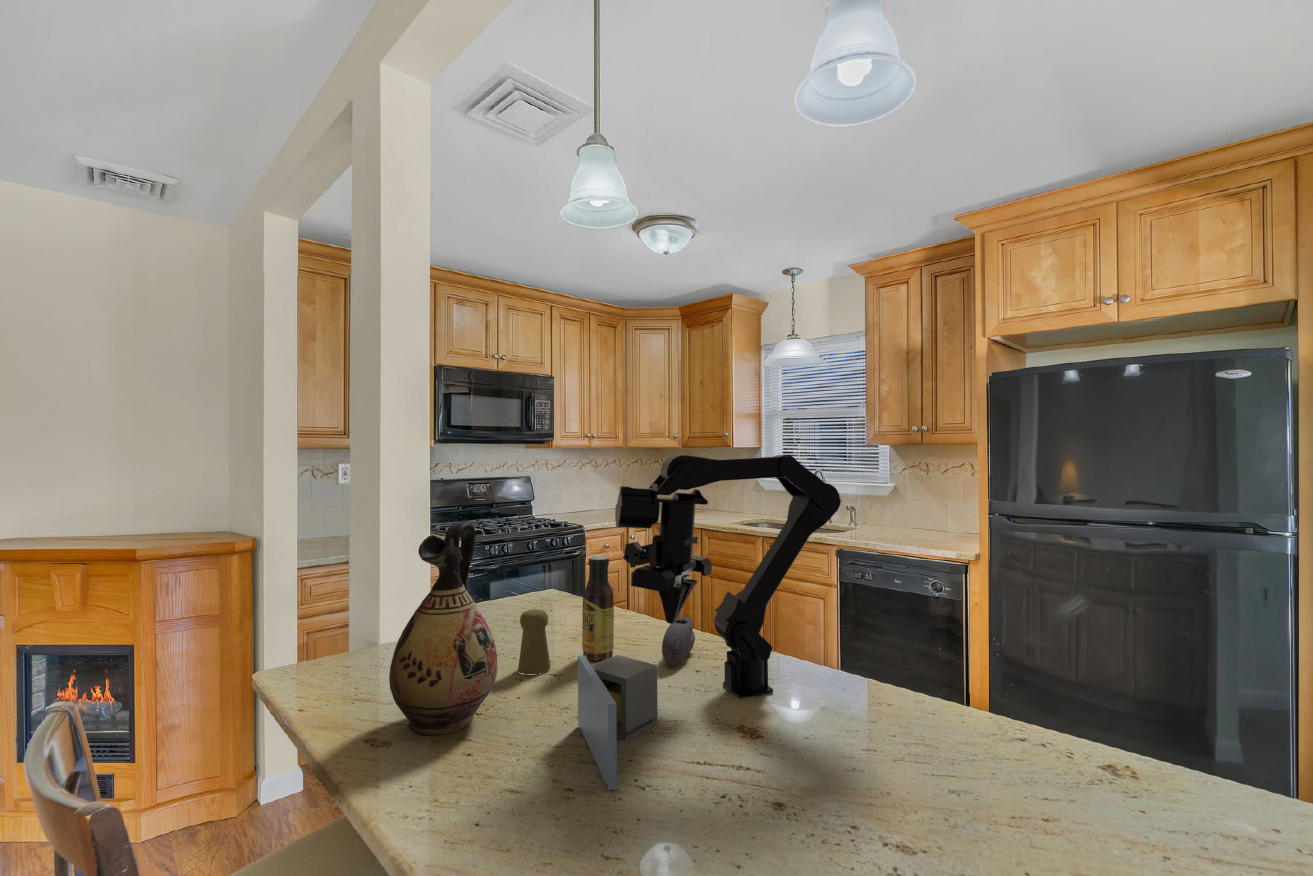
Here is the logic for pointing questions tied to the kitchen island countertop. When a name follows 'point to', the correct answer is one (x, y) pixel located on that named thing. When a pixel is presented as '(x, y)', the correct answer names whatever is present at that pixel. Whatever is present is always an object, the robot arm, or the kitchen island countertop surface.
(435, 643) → the ceramic jug
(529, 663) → the cork
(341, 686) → the kitchen island countertop surface
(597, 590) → the sauce bottle
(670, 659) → the perforated stone tool
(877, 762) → the kitchen island countertop surface
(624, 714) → the camera case
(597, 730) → the side door
